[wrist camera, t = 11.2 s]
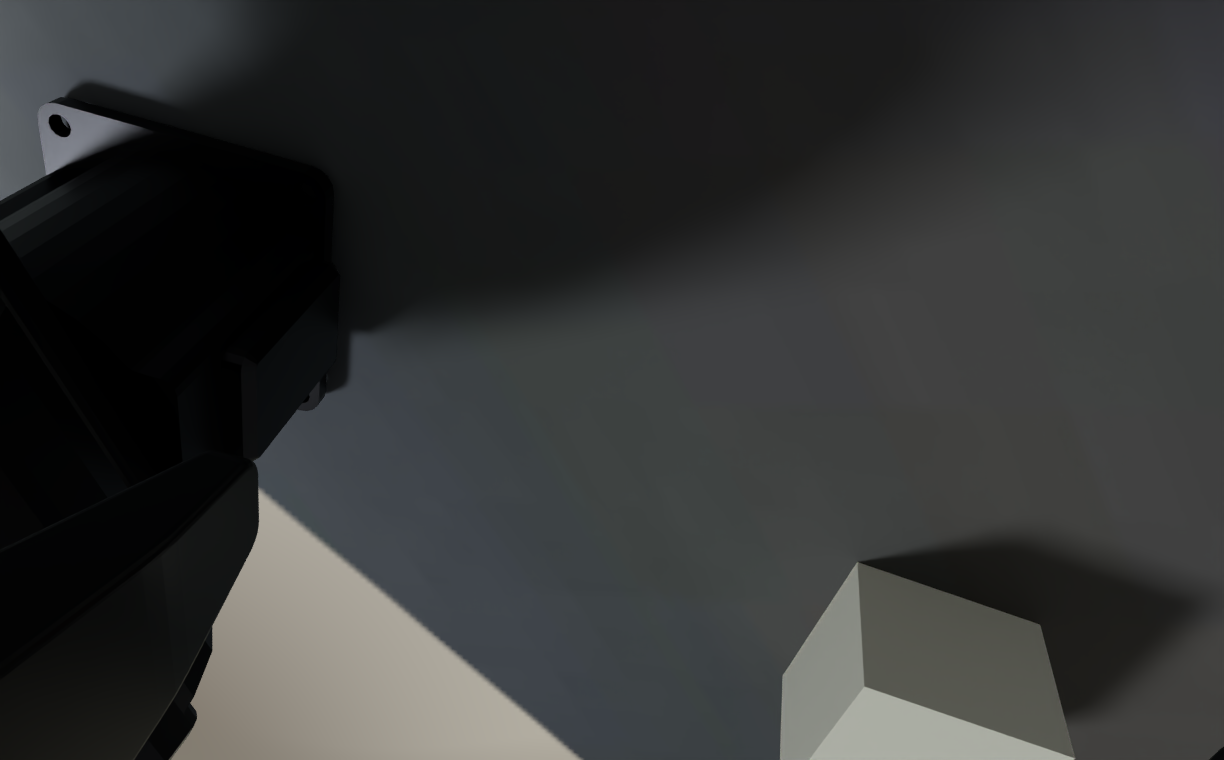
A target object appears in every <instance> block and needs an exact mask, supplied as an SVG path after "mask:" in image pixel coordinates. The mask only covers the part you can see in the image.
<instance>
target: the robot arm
mask: <svg viewBox="0 0 1224 760" xmlns="http://www.w3.org/2000/svg"><path fill="white" fill-rule="evenodd" d="M61 116H62V117H64V118H65V119H66V120H67V121H68V123H69V125H70V127H71V130H70V129H68V128H67V127H66V126H65V125H64V124H63V122H62V119H61ZM38 125H39V131H40V138H41V144H42V150H43V157H44V163H45V170H46V176H45V177H43V178H41V179H39V180H37V181H35V182H34V183H32V184H30V185H28V186H26V187H25V188H23V189H21V190H19V191H17V192H15V193H14V194H12V195H10V196H8V197H6V198H5V199H3V200H1V201H0V760H171V758H172V757H173V756H174V754H175V753H176V752H177V750H178V749H179V748H180V746H181V745H182V743H183V742H184V741H185V740H186V738H187V737H188V735H189V734H190V732H191V730H192V728H193V726H194V724H195V722H196V719H197V713H196V710H195V709H194V708H193V706H192V705H191V704H190V702H191V701H192V699H193V697H194V695H195V693H196V690H197V688H198V685H199V683H200V680H201V678H202V675H203V673H204V670H205V668H206V665H207V663H208V660H209V658H210V655H211V653H212V625H213V623H214V621H215V619H216V617H217V615H218V613H219V612H220V610H221V608H222V606H223V604H224V602H225V600H226V598H227V596H228V594H229V592H230V590H231V588H232V586H233V584H234V582H235V580H236V578H237V577H238V575H239V573H240V571H241V569H242V567H243V565H244V563H245V561H246V559H247V557H248V555H249V553H250V551H251V549H252V547H253V544H254V542H255V539H256V536H257V532H258V525H259V507H258V506H259V504H258V503H259V502H258V471H257V467H256V465H255V463H254V462H253V461H254V460H256V459H258V458H259V457H260V456H261V455H262V454H263V452H264V451H265V450H266V449H267V447H268V446H269V445H270V444H271V442H272V441H273V440H274V438H275V437H276V436H277V435H278V433H279V432H280V431H281V429H282V428H283V427H284V426H285V424H286V423H287V422H288V421H289V419H290V418H291V417H292V415H293V414H294V413H295V412H296V410H297V409H298V410H303V411H309V410H313V409H314V408H315V407H316V406H317V405H318V404H319V403H320V401H321V400H322V399H323V398H324V396H325V392H326V377H327V371H328V369H329V368H330V367H331V366H332V364H333V363H334V362H335V360H336V353H337V332H338V311H339V289H340V274H339V272H338V271H337V269H336V267H335V265H334V264H333V263H331V252H332V227H333V202H334V191H333V185H332V183H331V181H330V180H329V178H328V176H327V175H325V174H324V173H323V172H322V171H321V170H320V169H317V168H315V167H313V166H310V165H307V164H303V163H299V162H296V161H292V160H289V159H285V158H282V157H278V156H274V155H271V154H267V153H264V152H260V151H257V150H253V149H250V148H246V147H242V146H239V145H235V144H232V143H228V142H225V141H221V140H217V139H214V138H210V137H207V136H203V135H200V134H196V133H192V132H189V131H185V130H182V129H178V128H175V127H171V126H167V125H164V124H160V123H157V122H153V121H150V120H146V119H142V118H139V117H135V116H132V115H128V114H125V113H121V112H118V111H114V110H110V109H107V108H103V107H100V106H96V105H93V104H89V103H85V102H82V101H78V100H75V99H71V98H64V97H60V98H58V99H55V100H53V101H51V102H49V103H47V104H44V105H42V106H41V108H40V109H39V111H38ZM301 183H304V184H306V185H308V186H310V188H311V189H312V190H313V191H314V194H315V198H311V197H309V196H307V195H306V194H305V193H304V192H303V191H302V188H301ZM1209 760H1224V747H1223V748H1221V749H1220V750H1219V751H1218V752H1217V753H1216V754H1215V755H1214V756H1212V757H1211V758H1210V759H1209Z"/></svg>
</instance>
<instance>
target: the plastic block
mask: <svg viewBox="0 0 1224 760" xmlns="http://www.w3.org/2000/svg"><path fill="white" fill-rule="evenodd" d="M1074 759H1075V756H1074V752H1073V748H1072V744H1071V740H1070V737H1069V733H1068V729H1067V725H1066V721H1065V718H1064V714H1063V710H1062V706H1061V702H1060V698H1059V695H1058V691H1057V687H1056V683H1055V679H1054V676H1053V672H1052V668H1051V664H1050V660H1049V656H1048V653H1047V649H1046V645H1045V641H1044V637H1043V633H1042V630H1041V626H1040V624H1037V623H1034V622H1031V621H1028V620H1025V619H1022V618H1019V617H1016V616H1014V615H1011V614H1008V613H1005V612H1002V611H999V610H996V609H993V608H990V607H987V606H984V605H981V604H978V603H976V602H973V601H970V600H967V599H964V598H961V597H958V596H955V595H952V594H949V593H946V592H943V591H940V590H938V589H935V588H932V587H929V586H926V585H923V584H920V583H917V582H914V581H911V580H908V579H905V578H903V577H900V576H897V575H894V574H891V573H888V572H885V571H882V570H879V569H876V568H873V567H870V566H867V565H865V564H862V563H859V562H857V563H856V565H855V566H854V568H853V570H852V571H851V573H850V574H849V576H848V577H847V579H846V580H845V582H844V583H843V585H842V586H841V588H840V589H839V591H838V592H837V594H836V595H835V597H834V598H833V600H832V601H831V603H830V605H829V606H828V608H827V609H826V611H825V612H824V614H823V615H822V617H821V618H820V620H819V621H818V623H817V624H816V626H815V627H814V629H813V630H812V632H811V633H810V635H809V636H808V638H807V639H806V641H805V643H804V644H803V646H802V647H801V649H800V650H799V652H798V653H797V655H796V656H795V658H794V659H793V661H792V662H791V664H790V665H789V667H788V668H787V670H786V671H785V673H784V674H783V683H782V714H781V746H780V760H1074Z"/></svg>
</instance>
